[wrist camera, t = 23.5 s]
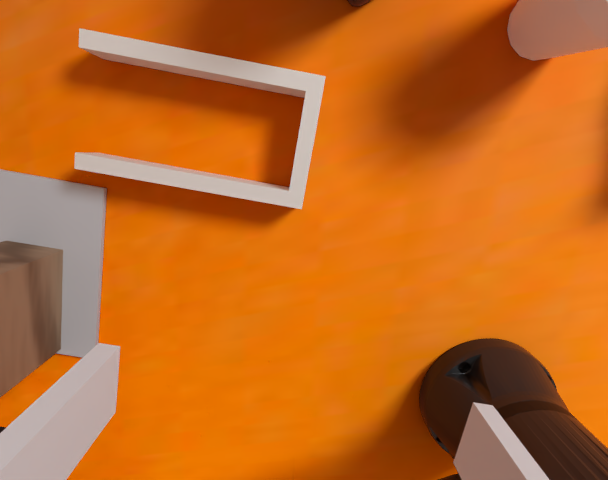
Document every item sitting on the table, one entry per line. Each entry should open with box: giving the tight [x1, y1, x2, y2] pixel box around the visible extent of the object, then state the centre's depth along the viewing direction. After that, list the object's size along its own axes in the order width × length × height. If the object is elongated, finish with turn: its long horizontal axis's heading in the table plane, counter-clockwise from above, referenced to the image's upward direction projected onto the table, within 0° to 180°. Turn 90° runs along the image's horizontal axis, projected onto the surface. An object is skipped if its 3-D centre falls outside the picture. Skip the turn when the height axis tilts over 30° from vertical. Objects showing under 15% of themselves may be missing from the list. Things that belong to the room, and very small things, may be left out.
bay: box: [74, 28, 326, 209], centre depth 35 cm, size 12×22×4 cm, turn 80°
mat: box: [0, 169, 107, 357], centre depth 40 cm, size 20×14×1 cm
